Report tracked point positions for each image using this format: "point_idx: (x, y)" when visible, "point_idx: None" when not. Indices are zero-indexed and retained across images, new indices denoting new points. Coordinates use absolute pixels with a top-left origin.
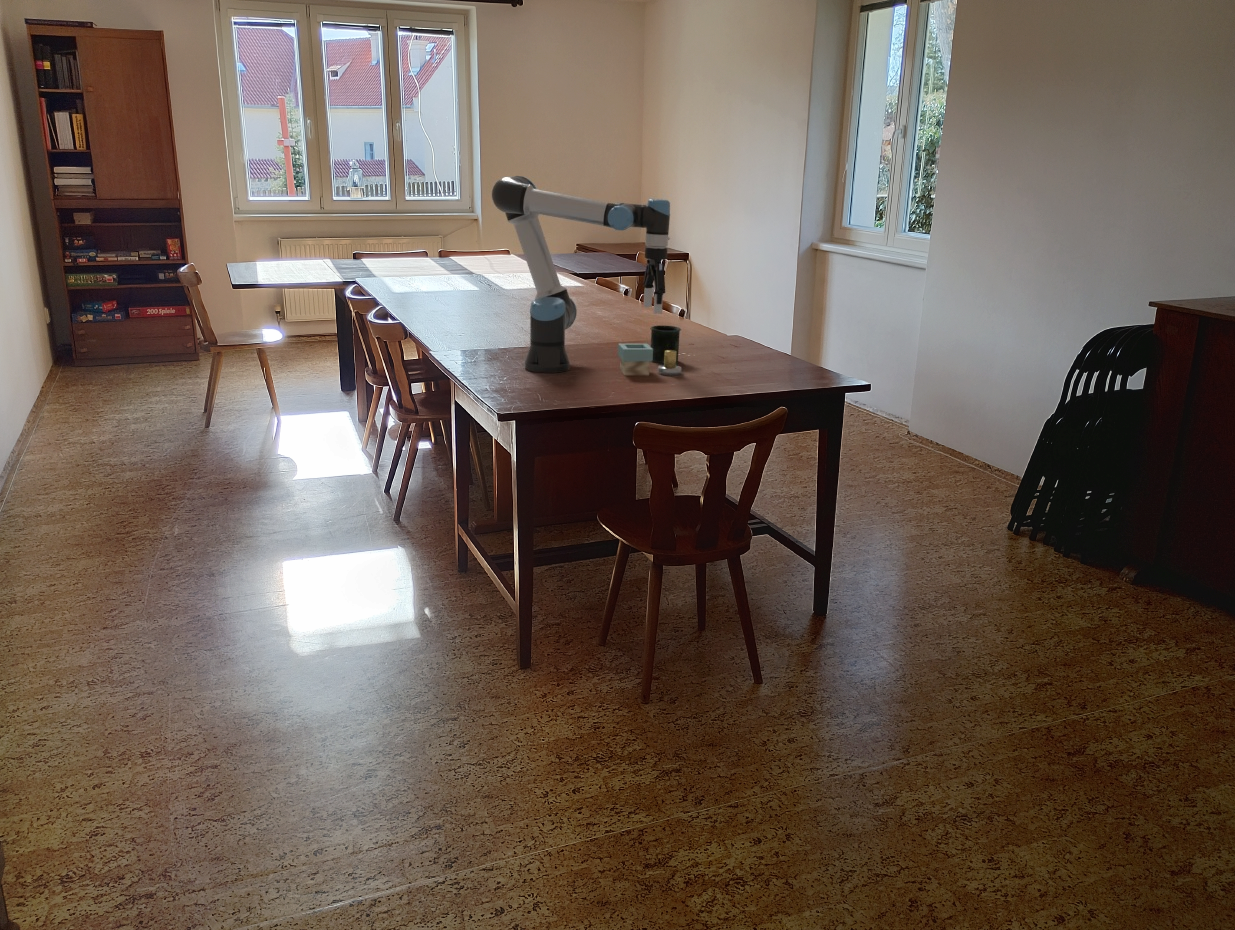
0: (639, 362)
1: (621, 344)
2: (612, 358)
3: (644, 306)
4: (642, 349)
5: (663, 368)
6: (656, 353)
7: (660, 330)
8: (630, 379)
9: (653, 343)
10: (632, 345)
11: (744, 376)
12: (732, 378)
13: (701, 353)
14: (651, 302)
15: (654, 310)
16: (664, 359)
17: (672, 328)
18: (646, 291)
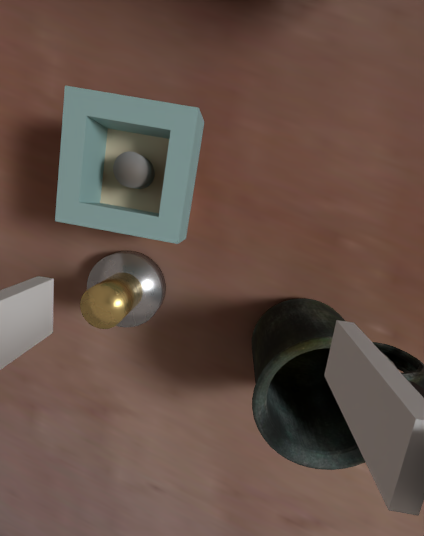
0: None
1: (175, 116)
2: (390, 181)
3: (337, 324)
4: (59, 175)
5: (109, 263)
6: (279, 313)
7: (277, 359)
8: None
9: (303, 319)
10: (166, 169)
11: (62, 463)
12: (43, 424)
13: (377, 497)
14: (335, 394)
15: (21, 283)
16: (115, 278)
17: (354, 446)
18: (389, 409)
